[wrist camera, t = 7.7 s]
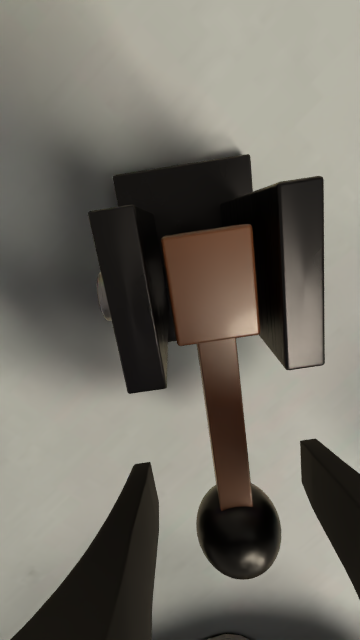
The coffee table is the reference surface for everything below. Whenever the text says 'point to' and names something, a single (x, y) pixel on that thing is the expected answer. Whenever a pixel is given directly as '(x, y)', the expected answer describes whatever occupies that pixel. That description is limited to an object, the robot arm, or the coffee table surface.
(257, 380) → the coffee table surface
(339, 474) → the robot arm
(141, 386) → the bracket
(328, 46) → the coffee table surface
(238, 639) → the cleaver
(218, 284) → the lever
